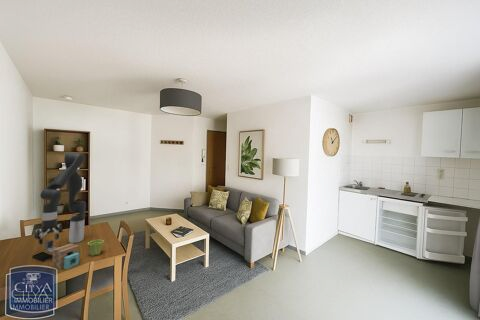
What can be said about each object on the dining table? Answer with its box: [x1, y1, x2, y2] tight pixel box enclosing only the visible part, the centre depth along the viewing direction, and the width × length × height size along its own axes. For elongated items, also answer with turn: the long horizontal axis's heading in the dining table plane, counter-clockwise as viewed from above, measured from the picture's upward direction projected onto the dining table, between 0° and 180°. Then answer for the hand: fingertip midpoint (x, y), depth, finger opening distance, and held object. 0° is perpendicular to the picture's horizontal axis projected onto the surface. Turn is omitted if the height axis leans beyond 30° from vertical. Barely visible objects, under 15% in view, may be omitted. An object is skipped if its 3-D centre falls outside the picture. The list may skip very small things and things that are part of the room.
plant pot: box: [87, 239, 104, 257], centre depth 143 cm, size 9×9×9 cm
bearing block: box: [51, 242, 80, 270], centre depth 128 cm, size 8×10×11 cm
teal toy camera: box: [63, 252, 80, 270], centre depth 126 cm, size 3×7×7 cm, turn 161°
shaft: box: [44, 239, 69, 255], centre depth 131 cm, size 21×3×6 cm, turn 71°
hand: (48, 241), depth 135 cm, fingers open, 8 cm apart
